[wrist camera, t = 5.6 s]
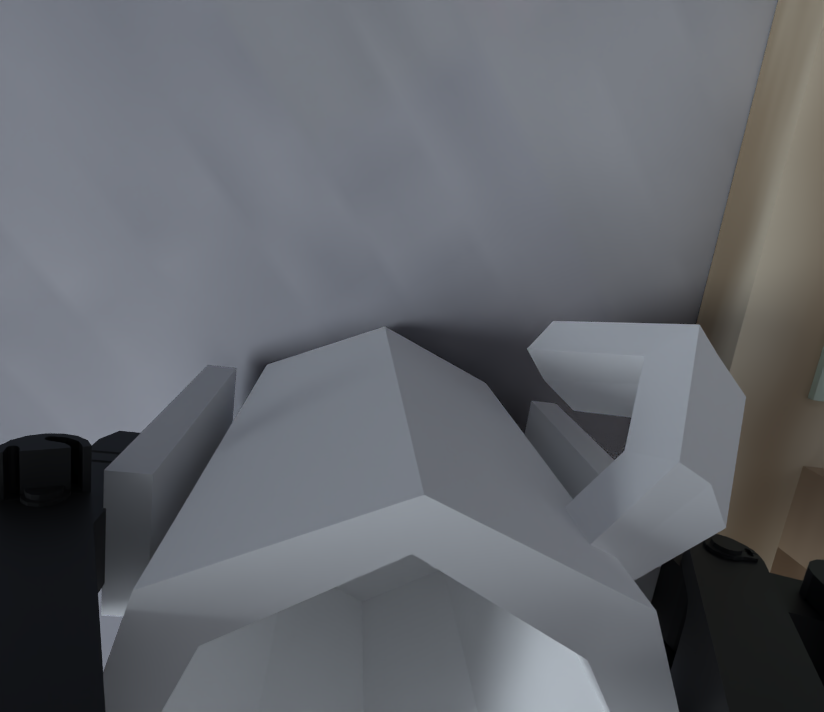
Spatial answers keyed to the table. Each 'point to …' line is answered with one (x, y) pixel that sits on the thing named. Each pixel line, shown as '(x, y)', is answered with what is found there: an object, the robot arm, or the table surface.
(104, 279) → the table surface
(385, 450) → the mug
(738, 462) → the square hole base block
